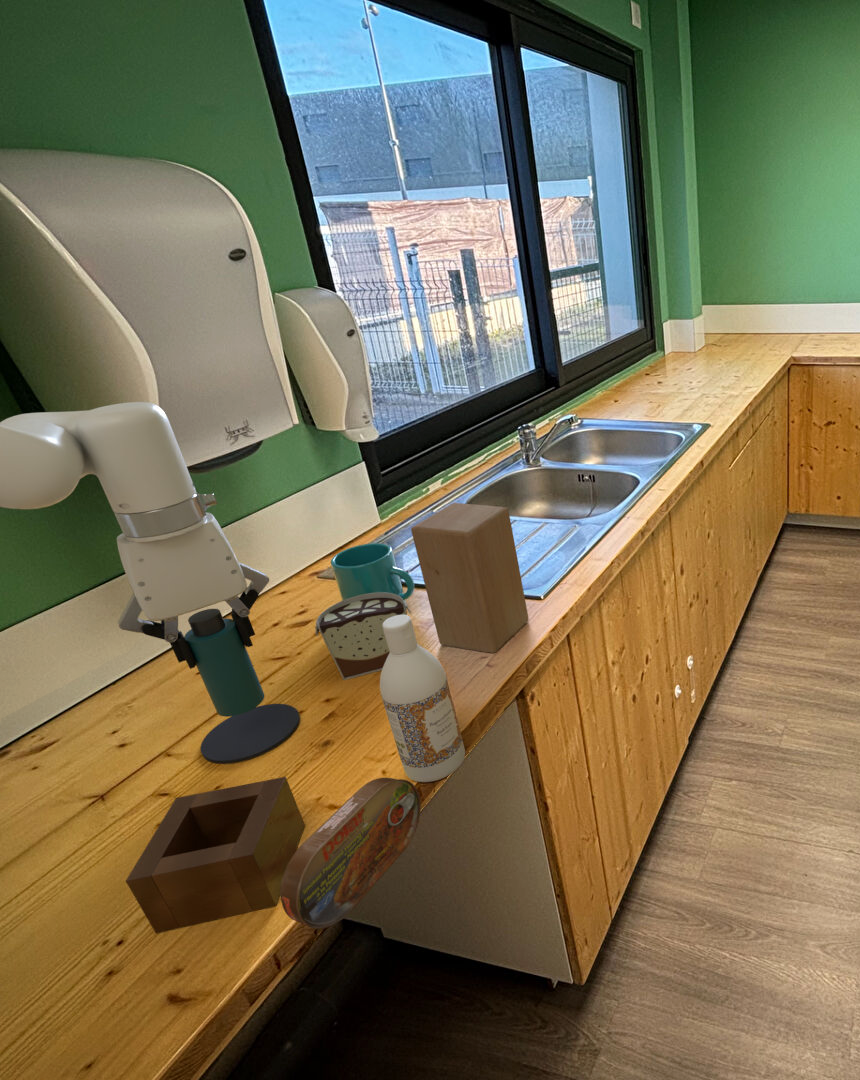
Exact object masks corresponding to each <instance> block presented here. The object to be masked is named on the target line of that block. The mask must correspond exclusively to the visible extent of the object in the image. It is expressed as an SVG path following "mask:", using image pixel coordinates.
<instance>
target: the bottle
mask: <svg viewBox="0 0 860 1080" xmlns="http://www.w3.org/2000/svg"><path fill="white" fill-rule="evenodd" d="M187 622H188V624H189V626H190V628H191V629H189V630H188V631H187V632H186V633H185V634H184V635H183V636H184V638H185V640H186V642H187V644H188V647H189V649H190V651H191V653H192V656H193V658H194V660H195V663H196V666H195V667H196V669H197V670H198V674H199V675H200V677H201V679H202V682H203V684H204V687H205V689H206V690H207V693H208V696H209V698H210V700H211V702H212V704H213V706H214V709H215V712H216V713H217V715H218V716H221V717H227V718H230V717H232V716H236V715H240V714H243V713H245V712H248V711H250V710H252V709H254V708H255V707H258V706H260V704H262V703H263V701H264V699H265V697H266V696H265V693H264V690H263V687H262V685H261V682H260V679H259V678H258V677H259V676H258V674H257V672H256V670H255V668H254V666H253V662H252V660H251V657H250V655H249V652H248V650H247V647H246V646H245V645H244V642H243V640H242V637H241V635H240V632H239V630H238V628H237V625H236V623H235V621H234V620H233V619H232V618H223V614H222V612H221V610H220V609H218V608H208V609H203V610H201V611H197V612H195V613H193V614H192V615H190V616H189V617H188V618H187Z"/></svg>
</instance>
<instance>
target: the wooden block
mask: <svg viewBox="0 0 860 1080" xmlns="http://www.w3.org/2000/svg"><path fill="white" fill-rule="evenodd" d="M410 531H411V535H412V539H413V543H414V547H415V550H416V551H415V552H416V556H417V559H418V563H419V567H420V571H421V575H422V579H423V582H424V587H425V591H426V594H427V595H426V596H427V598H428V602H429V605H430V610H431V614H432V618H433V622H434V627H435V630H436V634H437V638H438V642H439V644H440V645H441V646H444V647H445V646H446V647H450V648H451V647H452V648H457V649H465V650H469V651H470V650H471V651H475V652H482V653H489V652H490V654H494V653H496V652H498V650H499V649H501V648H502V646H503V645H505V644H506V643H507V642H508V641H509V640H510V639H511V638H512V637H514V635H515V634H516V633H517V632H518V631H520V630H521V628H522V627H523V626H525V625H526V623H528V622H529V614H528V607H527V603H526V602H527V601H526V598H525V597H526V596H525V592H524V591H525V590H524V585H523V580H522V575H521V570H520V565H519V559H518V554H517V553H518V552H517V547H516V543H515V537H514V533H513V532H514V531H513V527H512V522H511V516H510V511H509V508H508V507H506V506H497V505H496V506H494V505H483V504H474V503H473V504H472V503H462V502H461V503H460V502H453V503H450V504H449V505H447V506H446V507H444V508H442V509H441V510H439V511H437V512H435V513H434V514H432V515H430V516H428V517H427V518H425V519H422V520H421V521H420V522H417V524H415V525H413V526H411V528H410ZM509 638H510V639H509ZM506 641H507V642H506ZM505 642H506V643H505Z"/></svg>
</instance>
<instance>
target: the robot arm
mask: <svg viewBox="0 0 860 1080" xmlns="http://www.w3.org/2000/svg"><path fill="white" fill-rule="evenodd" d="M87 475H95V476H96V477H97V479H98V481H99V483H100V485H101V487H102V489H103V491H104V494H105V496H106V499H107V500H108V503H109V505H110V507H111V510H112V512H113V514H114V516H115V519H116V521H117V523H118V525H119V527H120V530H121V531H122V533H121V534H119V535H117V536H116V544H117V550H118V554H119V559H120V562H121V564H122V567H123V571H124V573H125V575H126V578H127V580H128V583H129V587H130V588H131V590H132V595H131V596H130V598H129V600H128V602H127V604H126V606H125V608H124V609H123V611H122V612H121V615H120V616H119V619H118V620H117V624H118V627H119V629H121V630H122V631H127V632H132V633H139V634H143V635H145V636H149V637H151V638H152V637H153V638H157V639H159V640H164V641H165V642H167V643H168V644H169V645H170V646H171V649H172V650H173V653H174V655H175V657H176V659H177V662H178V663H179V664H180V663H182V662H185V661H186V663H187V665H188V668H189V669H190V670H191V669H194V668H196V667H197V666H196V663H195V660H194V658H193V656H192V653H191V651H190V649H189V647H188V644H187V642H186V640H185V638H184V636H185V635H184V634H183V632H182V631H181V630H179V616H182V615H185V614H189V613H191V612H196V611H198V610H201V609H204V608H207V607H209V606H212V605H216V604H218V603H222V602H225V603H226V604H227V605H228V606H229V607H230V608H231V613H230V616H231V619H232V620H234V621H235V623H236V625H237V628H238V630H239V632H240V635H241V637H242V640H243V642H244V645H245V647H246V648H250V647H253V646H254V644H253V642H252V639H251V637H254V636H256V632H255V630H254V628H253V627H254V626H253V625H252V623H251V620H250V616H249V615H250V613H251V609H252V608H253V606H254V605H255V603H256V601H257V600H258V598H259V595H260V593H262V592H263V590H264V589H265V588H266V586H267V585H268V584H269V583H270V577H269V576H268V575H267V574H266V573H264V572H261V571H259V570H257V569H255V568H253V567H251V566H250V565H247V564H245V563H242V562H240V561H239V560H238V558H237V556H236V554H235V551H234V549H233V548H232V545H231V543H230V541H229V539H228V538H227V536H226V534H225V532H224V531H223V529H222V526H221V525H220V523H219V522H218V520H217V519H216V517H215V515H213V514H212V513H211V512H206V511H208V508H211V507H212V506H216V505H218V502H217V501H218V500H217V498H216V497H215V494H214V493H212V492H211V493H208V494H205V493H203V494H201V493H200V492H197V490H196V487H195V484H194V482H193V479H192V477H191V475H190V471H189V469H188V466H187V463H186V461H185V459H184V456H183V454H182V451H181V449H180V446H179V443H178V441H177V438H176V435H175V432H174V431H173V428H172V425H171V423H170V420H169V418H168V416H167V414H166V413H165V411H164V410H163V408H161V407H160V406H158V404H155V403H153V402H147V401H146V402H145V401H130V402H122V403H121V402H120V403H115V404H109V405H104V406H100V407H96V408H92V409H88V410H75V411H71V410H70V411H47V412H46V411H43V412H42V411H41V412H29V413H28V412H27V413H21V414H17V415H13V416H10V417H6V418H5V419H3V420H2V421H0V508H3V509H4V508H5V509H13V510H36V509H37V510H39V509H42V508H47V507H51V506H54V505H55V504H58V503H60V502H62V501H64V500H65V499H67V497H69V496H70V495H71V494H72V493H73V492H74V491H75V489H76V487H77V486H78V484H79V482H80V480H81V479H82V478H84V477H85V476H87ZM246 579H247V580H249V581H250V583H249V584H248V583H247V580H246ZM247 585H248V586H247ZM141 612H142V613H143V615H144V616H145V618H147V619H142V618H139V616H140V614H141Z"/></svg>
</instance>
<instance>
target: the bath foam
mask: <svg viewBox="0 0 860 1080" xmlns="http://www.w3.org/2000/svg"><path fill="white" fill-rule="evenodd" d="M382 627H383V631H384V634H385V638H386V641H387V645H388V648H389V651H390V653H389V655H388V657H387V659H386V662H385V664H384V666H383V669H382V670H381V673H380V677H379V678H380V679H379V689H380V690H379V692H380V697H381V699H382V703H383V706H384V710H385V713H386V716H387V720H388V723H389V726H390V730H391V733H392V735H393V739H394V742H395V745H396V749H397V752H398V755H399V759H400V761H401V764H402V768H403V771H404V773H405V775H406V776H407V778H408V779H410V780H411V781H414V782H416V783H432V782H436V781H439V780H442V779H445V778H446V777H448V776H450V775H452V774H453V773H454V772H456V771H457V770H458V769H459V768H460V766H461V765H462V764H463V763H464V761H465V757H466V748H465V744H464V741H463V736H462V732H461V728H460V724H459V719H458V717H457V713H456V709H455V705H454V701H453V697H452V693H451V688H450V685H449V680H448V677H447V674H446V672H445V669H444V667H443V665H442V663H441V662H440V660H439V659H438V658H437V657H436V656H435V655H434V654H433V653H431V652H430V651H429V650H427V649H426V648H424V647H423V646H421V645H420V644H418V639H417V636H416V635H417V634H416V632H415V628H414V624H413V621H412V618H411V616H409V615H408V614H406V615H396V616H393V617H390V618H388V619H386V620H385V621H384V622H383V624H382Z"/></svg>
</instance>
